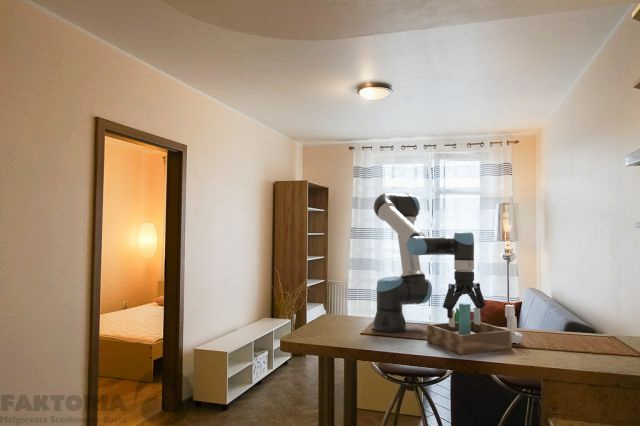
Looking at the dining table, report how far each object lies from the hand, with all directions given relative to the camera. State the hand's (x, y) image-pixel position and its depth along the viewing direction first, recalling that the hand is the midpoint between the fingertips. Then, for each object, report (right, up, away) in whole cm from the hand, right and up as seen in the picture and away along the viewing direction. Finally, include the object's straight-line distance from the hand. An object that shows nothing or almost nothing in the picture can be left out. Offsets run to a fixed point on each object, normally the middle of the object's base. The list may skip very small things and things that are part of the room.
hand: (464, 325), depth 170 cm
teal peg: (0, -7, 0) cm, 7 cm away
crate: (+1, -7, -2) cm, 8 cm away
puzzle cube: (+9, -9, +20) cm, 24 cm away
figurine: (+20, -8, +3) cm, 22 cm away
